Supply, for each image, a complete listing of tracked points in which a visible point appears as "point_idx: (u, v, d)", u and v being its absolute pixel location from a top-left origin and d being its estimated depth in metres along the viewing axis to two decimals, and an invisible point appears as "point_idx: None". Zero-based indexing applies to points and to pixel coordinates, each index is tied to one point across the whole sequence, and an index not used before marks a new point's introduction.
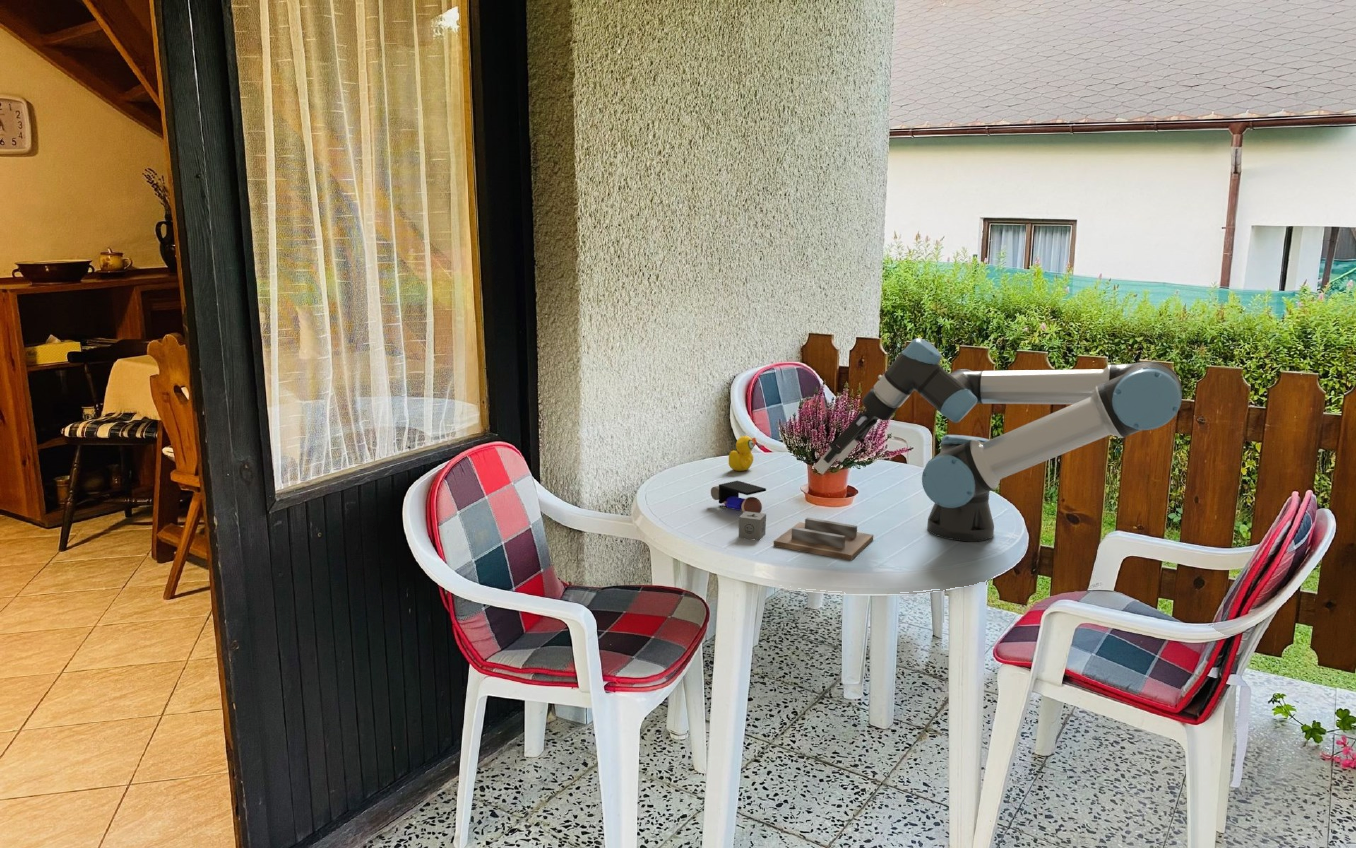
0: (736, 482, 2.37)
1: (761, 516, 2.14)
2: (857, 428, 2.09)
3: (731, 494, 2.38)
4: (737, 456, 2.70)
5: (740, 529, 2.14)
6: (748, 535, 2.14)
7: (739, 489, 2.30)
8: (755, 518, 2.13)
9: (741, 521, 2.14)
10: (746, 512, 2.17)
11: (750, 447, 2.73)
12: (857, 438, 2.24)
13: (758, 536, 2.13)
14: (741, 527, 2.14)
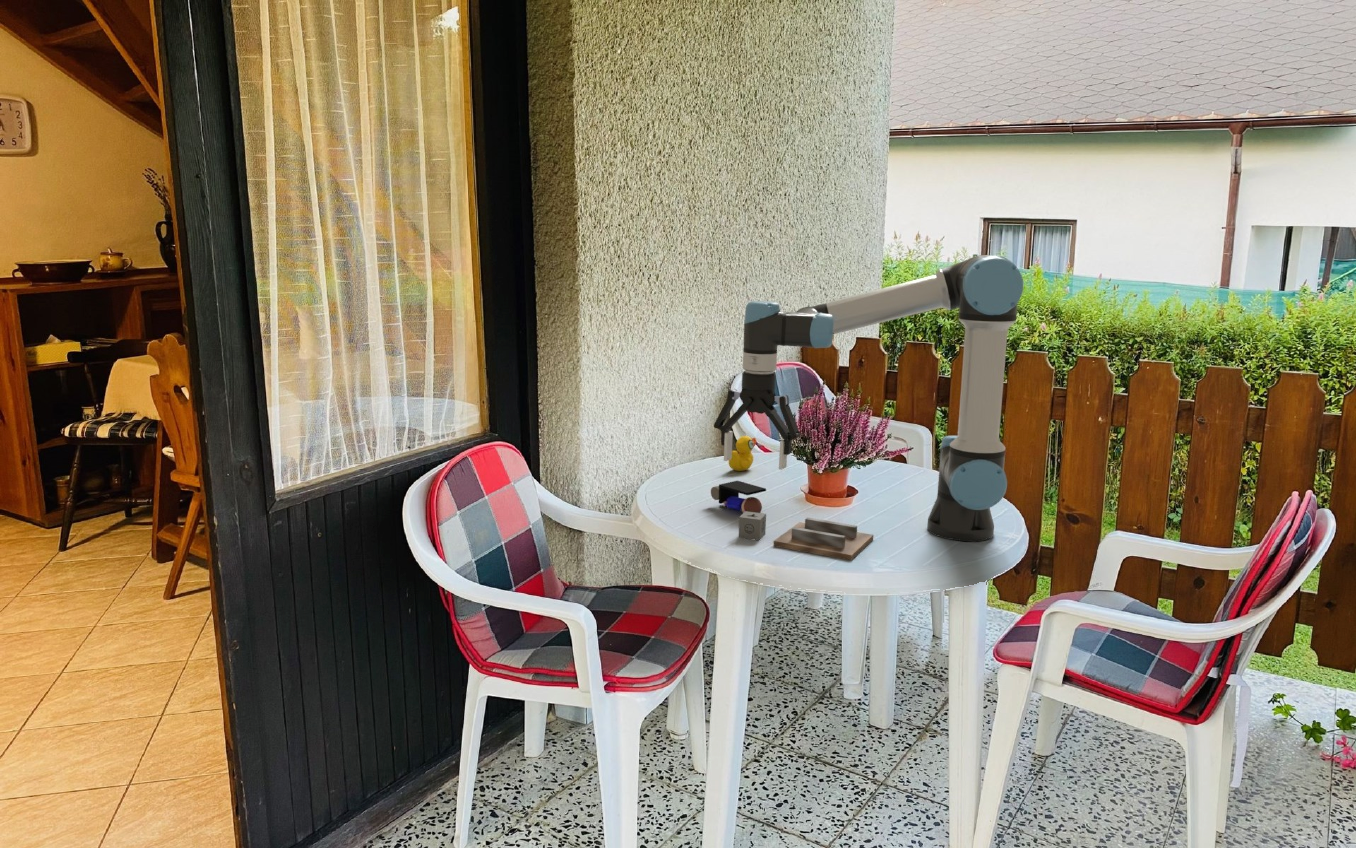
0: (736, 482, 2.37)
1: (761, 516, 2.14)
2: (788, 406, 2.07)
3: (731, 494, 2.38)
4: (737, 456, 2.70)
5: (740, 529, 2.14)
6: (748, 535, 2.14)
7: (739, 489, 2.30)
8: (755, 518, 2.13)
9: (741, 521, 2.14)
10: (746, 512, 2.17)
11: (750, 447, 2.73)
12: (728, 429, 2.15)
13: (758, 536, 2.13)
14: (741, 527, 2.14)
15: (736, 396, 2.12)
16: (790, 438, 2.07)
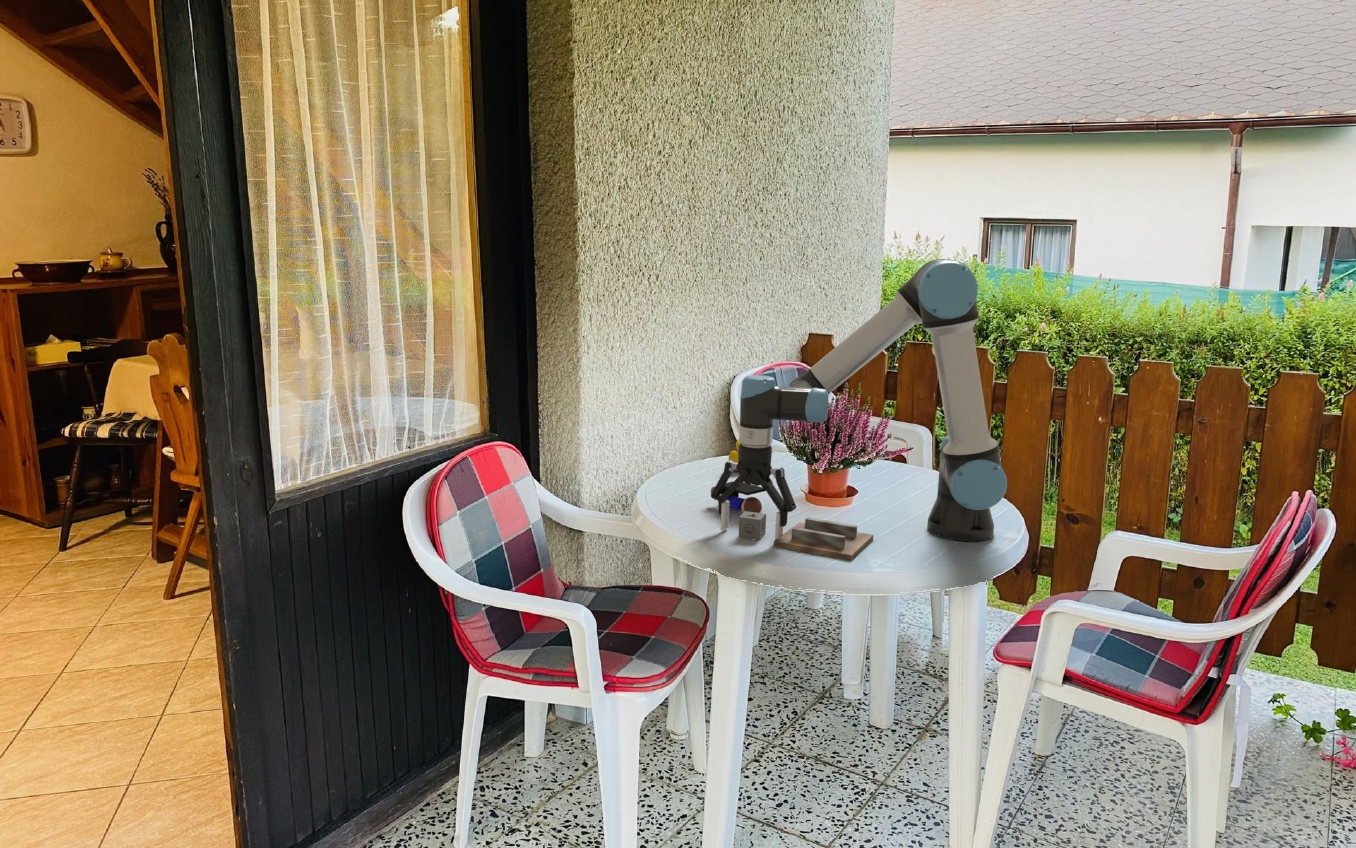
0: None
1: (761, 516, 2.14)
2: (784, 479, 2.10)
3: (731, 494, 2.38)
4: (737, 456, 2.70)
5: (740, 529, 2.14)
6: (748, 535, 2.14)
7: (739, 489, 2.30)
8: (755, 518, 2.13)
9: (741, 520, 2.14)
10: (746, 512, 2.17)
11: None
12: (725, 499, 2.18)
13: (758, 536, 2.13)
14: (741, 527, 2.14)
15: (733, 468, 2.15)
16: (786, 510, 2.10)
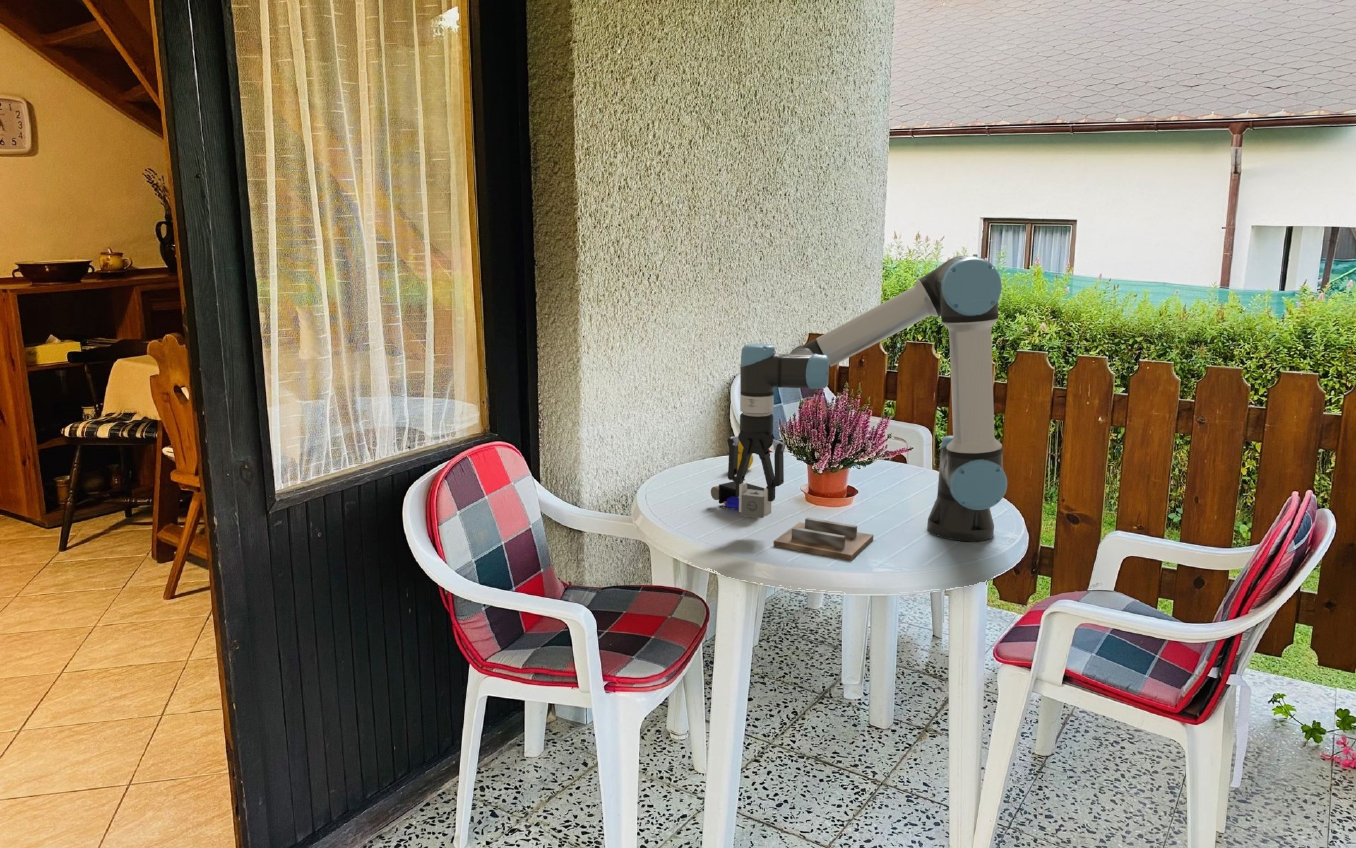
0: None
1: None
2: (782, 454, 2.10)
3: (731, 494, 2.38)
4: None
5: (743, 507, 2.13)
6: (751, 513, 2.13)
7: None
8: (758, 495, 2.12)
9: (743, 498, 2.13)
10: (749, 490, 2.16)
11: None
12: (742, 479, 2.15)
13: (761, 513, 2.12)
14: (744, 505, 2.13)
15: (736, 441, 2.13)
16: (773, 487, 2.11)
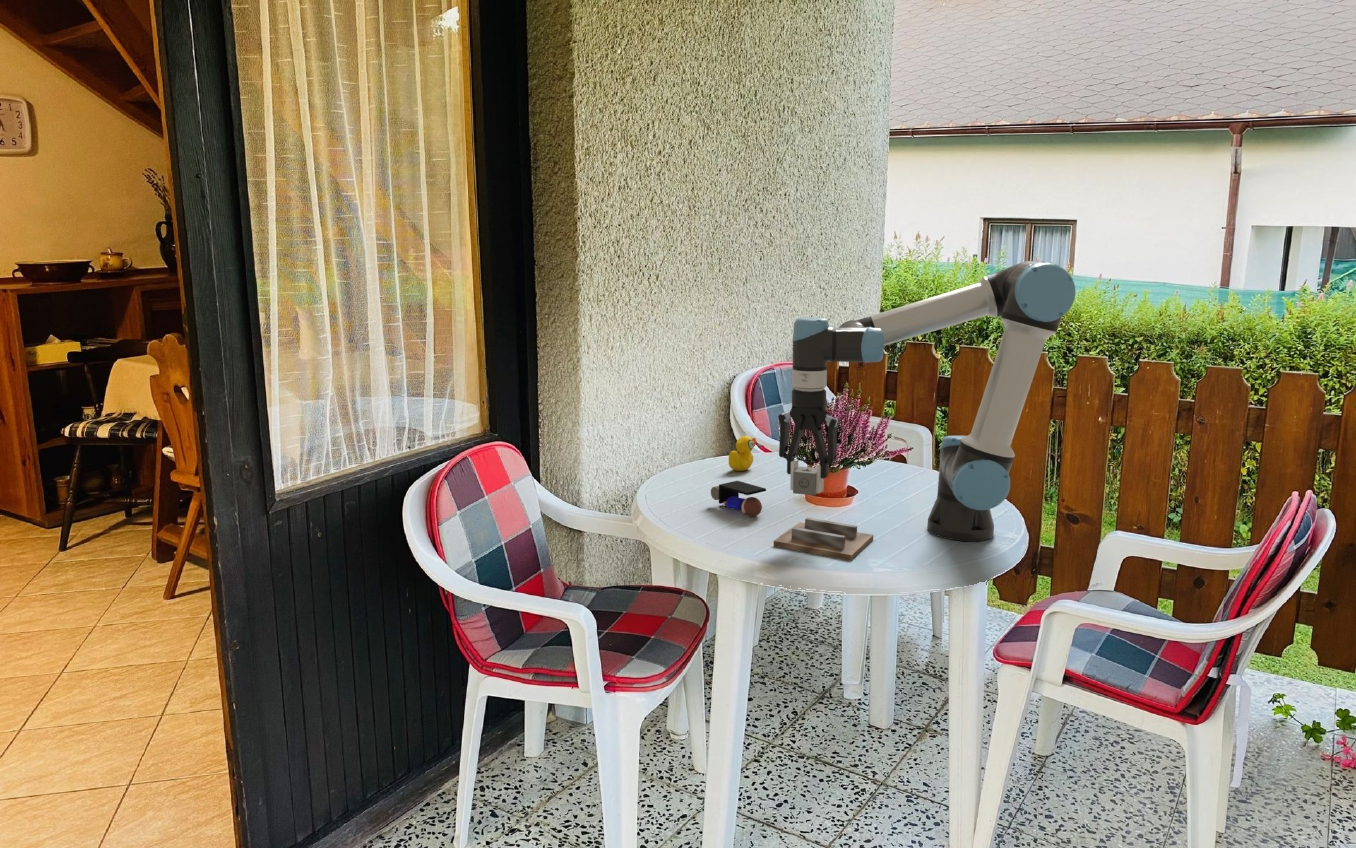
0: (736, 482, 2.37)
1: (816, 470, 2.09)
2: (835, 429, 2.06)
3: (731, 494, 2.38)
4: (737, 456, 2.70)
5: (794, 484, 2.09)
6: (803, 490, 2.09)
7: (739, 489, 2.30)
8: (810, 472, 2.08)
9: (795, 475, 2.09)
10: (800, 467, 2.12)
11: (750, 447, 2.73)
12: (794, 456, 2.11)
13: (813, 490, 2.08)
14: (795, 482, 2.09)
15: (787, 417, 2.10)
16: (826, 463, 2.07)
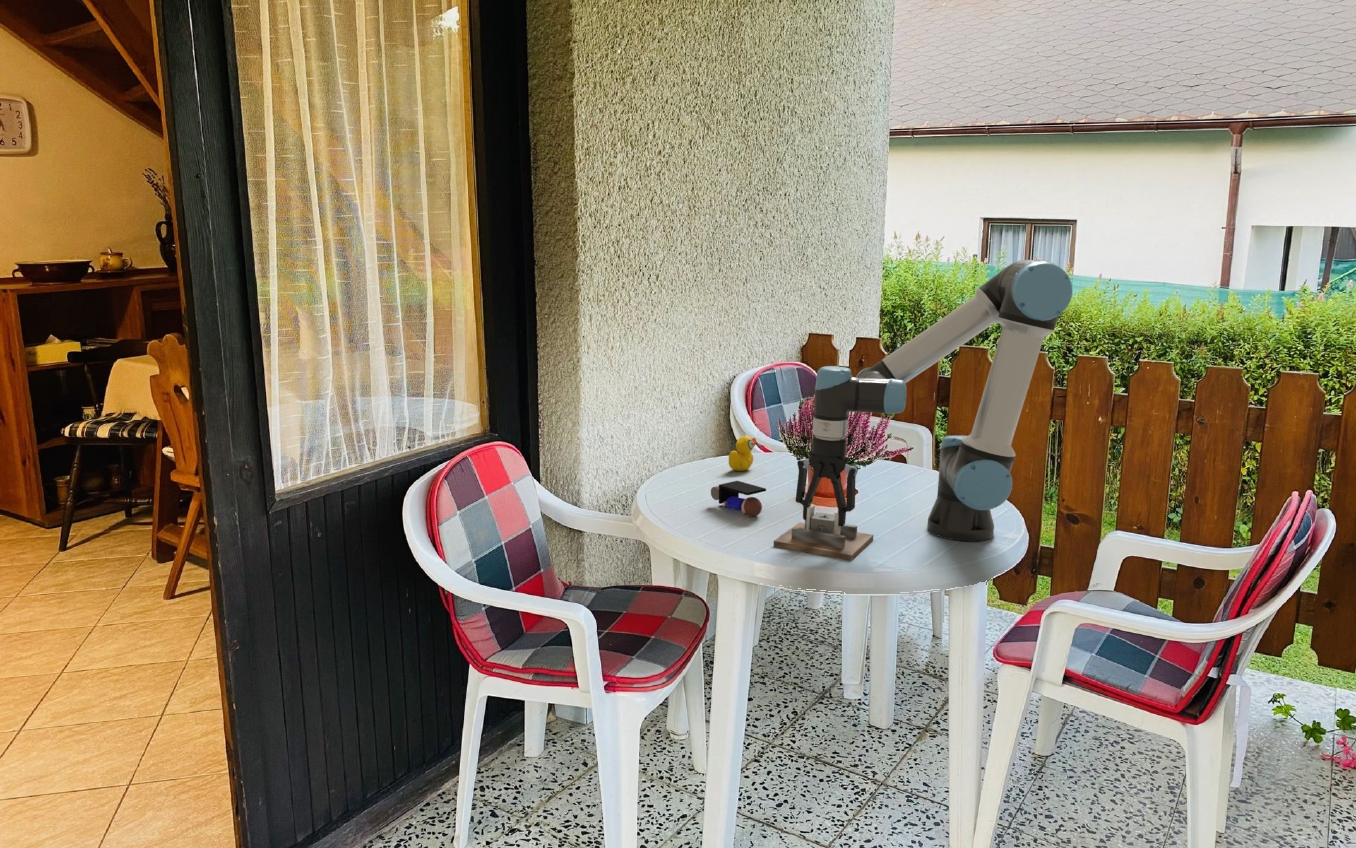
0: (736, 482, 2.37)
1: (833, 517, 2.10)
2: (854, 478, 2.07)
3: (731, 494, 2.38)
4: (737, 456, 2.70)
5: None
6: None
7: (739, 489, 2.30)
8: (827, 519, 2.09)
9: (813, 522, 2.10)
10: (817, 513, 2.13)
11: (750, 447, 2.73)
12: (810, 502, 2.13)
13: None
14: (813, 528, 2.10)
15: (806, 464, 2.10)
16: (844, 511, 2.08)
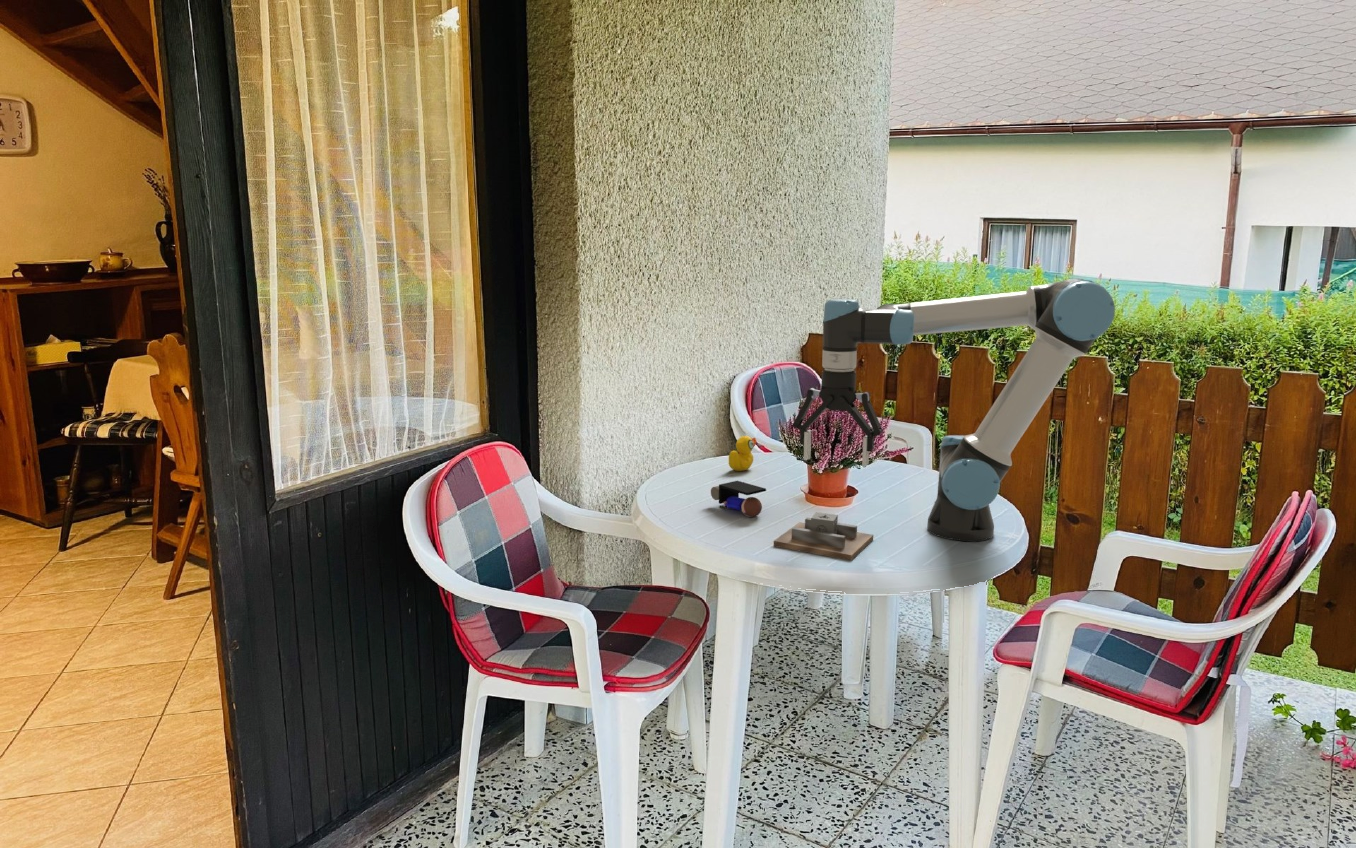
0: (736, 482, 2.37)
1: (833, 517, 2.10)
2: (870, 403, 2.07)
3: (731, 494, 2.38)
4: (737, 456, 2.70)
5: None
6: None
7: (739, 489, 2.30)
8: (827, 519, 2.09)
9: (813, 522, 2.10)
10: (817, 513, 2.13)
11: (750, 447, 2.73)
12: (807, 428, 2.15)
13: None
14: (813, 528, 2.10)
15: (815, 395, 2.11)
16: (873, 435, 2.07)
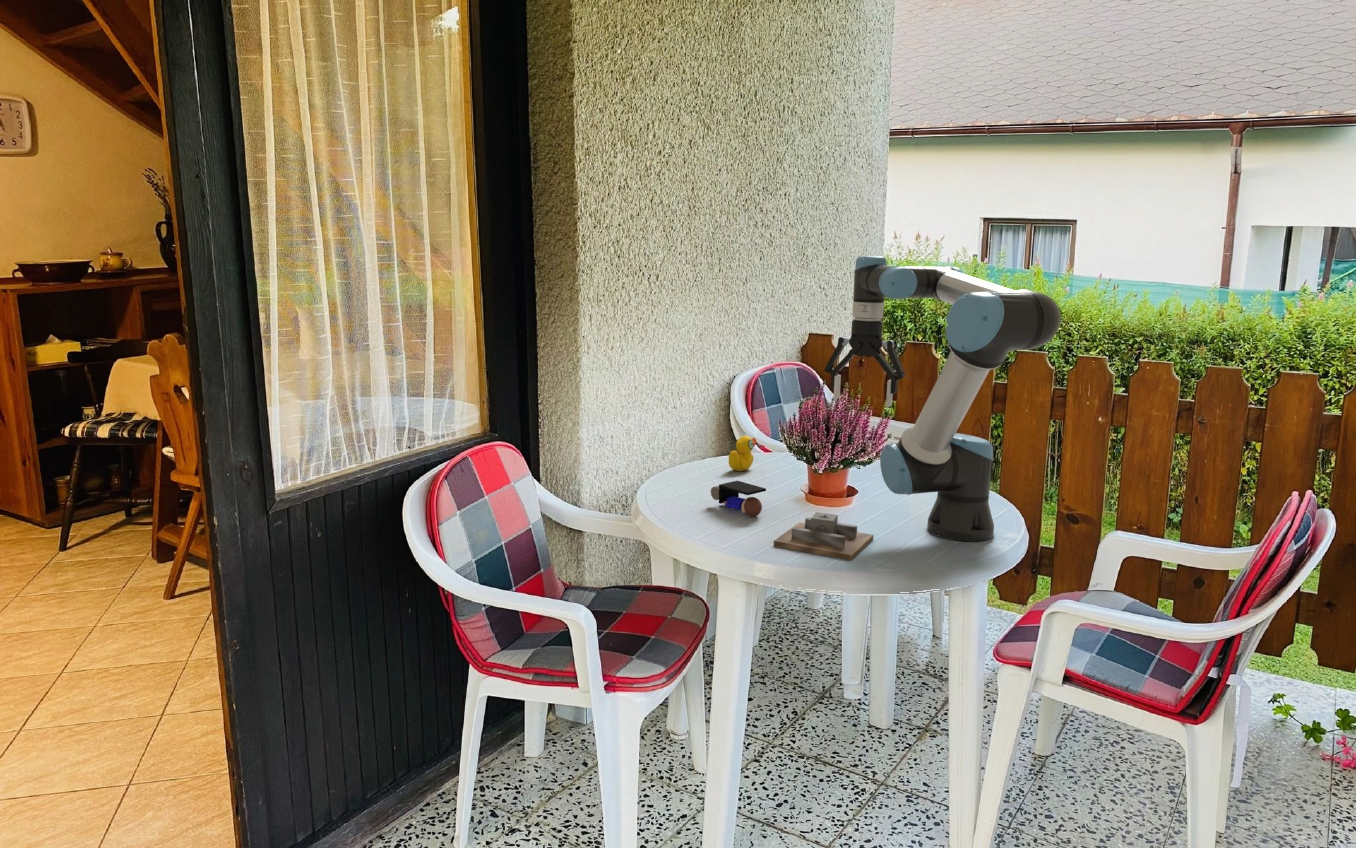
0: (736, 482, 2.37)
1: (833, 517, 2.10)
2: (894, 350, 2.31)
3: (731, 494, 2.38)
4: (737, 456, 2.70)
5: None
6: None
7: (739, 489, 2.30)
8: (827, 519, 2.09)
9: (813, 522, 2.10)
10: (817, 513, 2.13)
11: (750, 447, 2.73)
12: (837, 373, 2.39)
13: None
14: (813, 528, 2.10)
15: (845, 342, 2.36)
16: (896, 378, 2.31)
